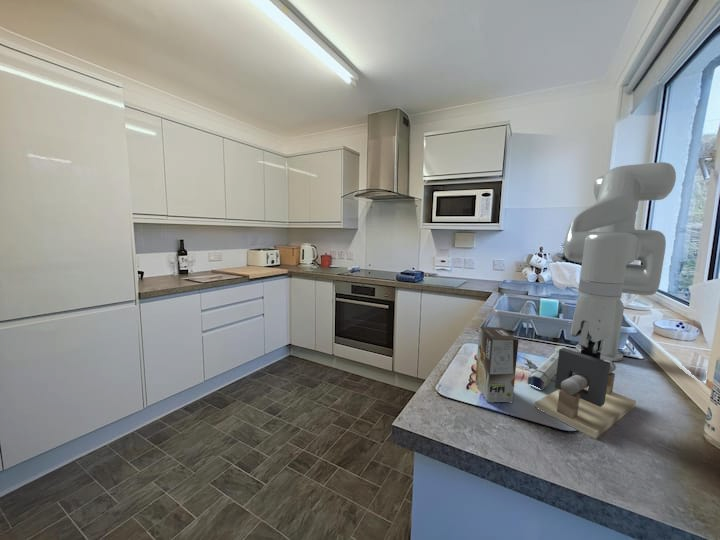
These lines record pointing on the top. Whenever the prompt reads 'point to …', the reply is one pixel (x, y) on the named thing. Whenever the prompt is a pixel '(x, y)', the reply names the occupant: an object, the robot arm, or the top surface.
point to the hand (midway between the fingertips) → (588, 366)
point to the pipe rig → (586, 405)
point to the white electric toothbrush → (545, 370)
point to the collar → (587, 367)
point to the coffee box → (496, 364)
